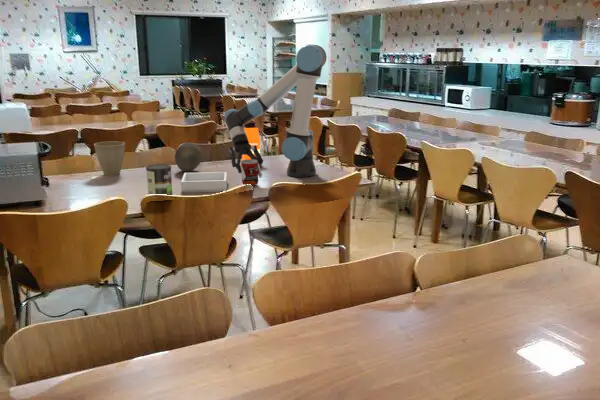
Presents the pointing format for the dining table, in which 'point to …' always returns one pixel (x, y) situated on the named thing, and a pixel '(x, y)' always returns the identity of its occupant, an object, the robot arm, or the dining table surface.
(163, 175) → the coffee can
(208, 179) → the tray
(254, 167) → the canned food
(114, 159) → the plant pot
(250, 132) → the orange juice
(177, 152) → the cantaloupe
